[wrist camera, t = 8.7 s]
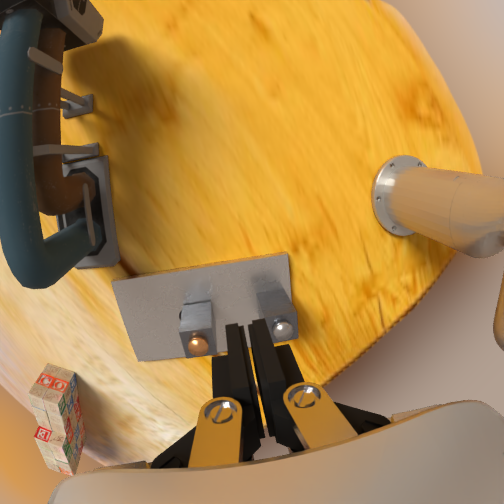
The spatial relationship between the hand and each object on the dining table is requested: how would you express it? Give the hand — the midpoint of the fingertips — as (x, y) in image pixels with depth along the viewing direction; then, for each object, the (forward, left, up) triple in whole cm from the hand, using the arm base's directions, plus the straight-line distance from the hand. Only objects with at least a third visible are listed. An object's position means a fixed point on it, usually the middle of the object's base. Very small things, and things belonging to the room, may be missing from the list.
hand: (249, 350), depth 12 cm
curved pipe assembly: (+18, -14, -29) cm, 37 cm away
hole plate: (+4, +13, -29) cm, 32 cm away
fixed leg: (-5, +13, -28) cm, 31 cm away
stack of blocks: (+38, +31, -29) cm, 57 cm away
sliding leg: (+5, +13, -28) cm, 31 cm away
